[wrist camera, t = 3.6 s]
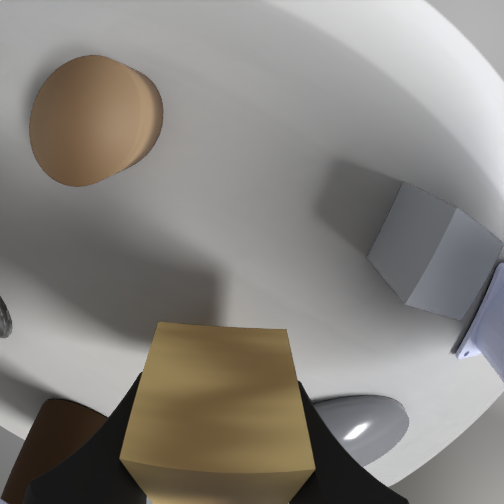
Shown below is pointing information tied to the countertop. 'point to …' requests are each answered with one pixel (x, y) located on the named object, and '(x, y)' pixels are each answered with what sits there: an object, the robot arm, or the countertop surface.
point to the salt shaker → (4, 321)
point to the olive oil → (50, 443)
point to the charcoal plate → (365, 424)
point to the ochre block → (218, 418)
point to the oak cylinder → (94, 120)
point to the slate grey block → (433, 253)
